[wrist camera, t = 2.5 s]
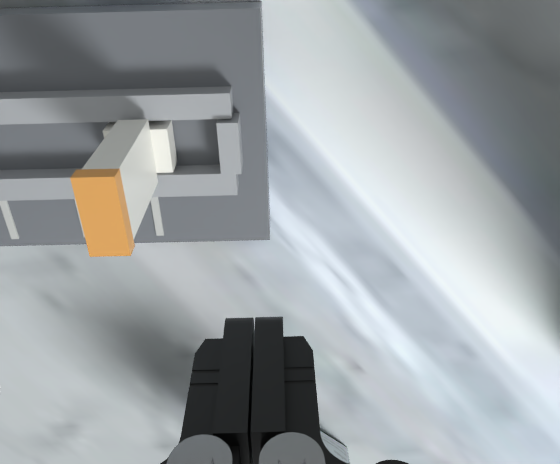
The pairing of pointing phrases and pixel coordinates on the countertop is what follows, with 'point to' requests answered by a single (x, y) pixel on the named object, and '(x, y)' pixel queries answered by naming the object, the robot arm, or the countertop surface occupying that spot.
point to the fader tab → (122, 182)
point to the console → (134, 115)
